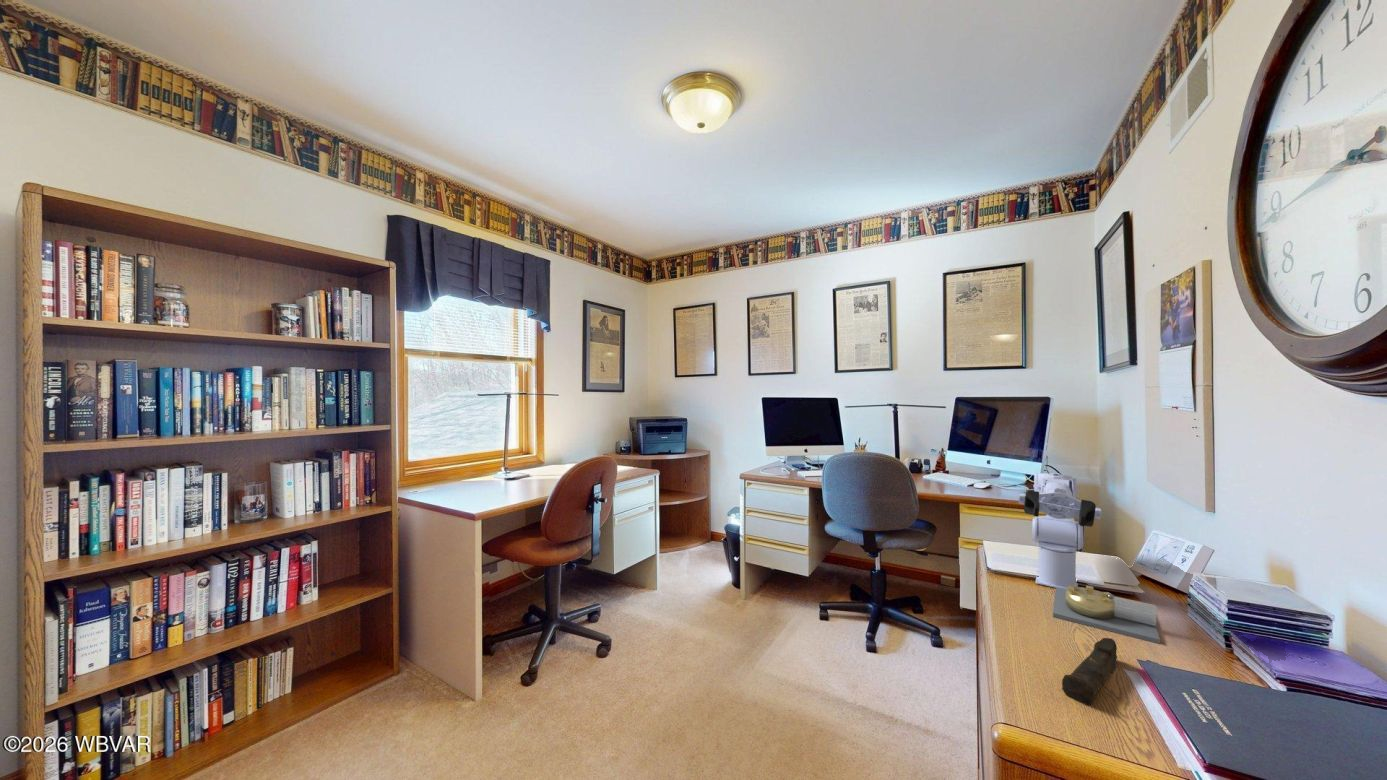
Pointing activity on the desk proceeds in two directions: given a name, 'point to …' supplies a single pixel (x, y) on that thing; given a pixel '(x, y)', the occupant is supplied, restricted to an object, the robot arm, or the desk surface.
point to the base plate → (1104, 620)
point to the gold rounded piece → (1108, 605)
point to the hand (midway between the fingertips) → (1059, 516)
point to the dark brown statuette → (1091, 672)
